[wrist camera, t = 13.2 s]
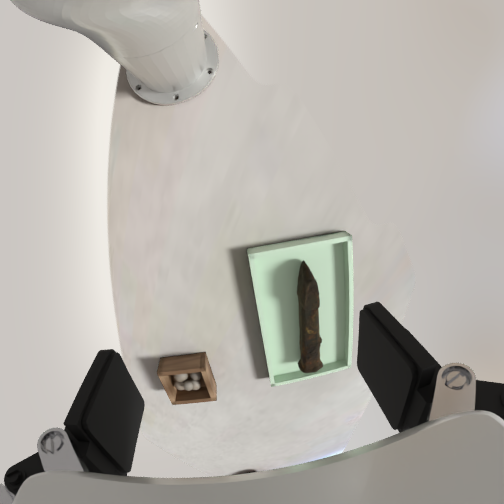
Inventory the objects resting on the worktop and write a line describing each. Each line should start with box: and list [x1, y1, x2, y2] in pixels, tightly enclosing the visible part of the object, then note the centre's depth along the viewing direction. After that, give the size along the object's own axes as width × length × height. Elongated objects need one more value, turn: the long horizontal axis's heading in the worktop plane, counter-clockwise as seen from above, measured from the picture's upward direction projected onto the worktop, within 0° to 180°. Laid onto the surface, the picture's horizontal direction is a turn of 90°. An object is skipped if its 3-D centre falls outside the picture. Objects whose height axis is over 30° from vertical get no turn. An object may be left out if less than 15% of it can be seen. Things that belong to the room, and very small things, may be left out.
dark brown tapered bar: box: [297, 260, 323, 373], centre depth 42 cm, size 19×4×5 cm, turn 5°
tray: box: [247, 231, 353, 387], centre depth 44 cm, size 25×15×2 cm, turn 9°
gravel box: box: [157, 352, 217, 405], centre depth 45 cm, size 8×8×4 cm
